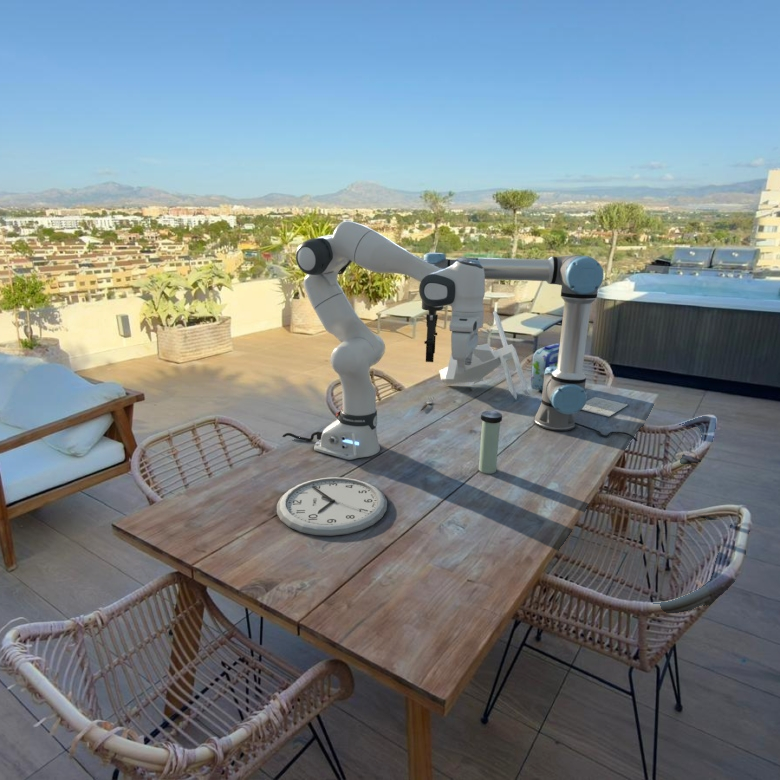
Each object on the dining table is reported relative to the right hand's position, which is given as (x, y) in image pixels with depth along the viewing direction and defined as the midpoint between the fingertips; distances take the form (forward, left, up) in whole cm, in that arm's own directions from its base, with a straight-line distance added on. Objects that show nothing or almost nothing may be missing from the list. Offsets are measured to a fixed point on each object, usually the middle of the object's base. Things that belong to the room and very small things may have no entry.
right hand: (430, 357), depth 190 cm
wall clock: (+23, +61, -28) cm, 71 cm away
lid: (-21, +32, -10) cm, 39 cm away
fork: (+2, -26, -28) cm, 38 cm away
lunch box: (-56, -63, -28) cm, 89 cm away
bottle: (-21, +32, -28) cm, 47 cm away
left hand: (-11, +39, +6) cm, 41 cm away
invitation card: (-73, -38, -28) cm, 87 cm away
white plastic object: (-22, -50, -28) cm, 61 cm away
